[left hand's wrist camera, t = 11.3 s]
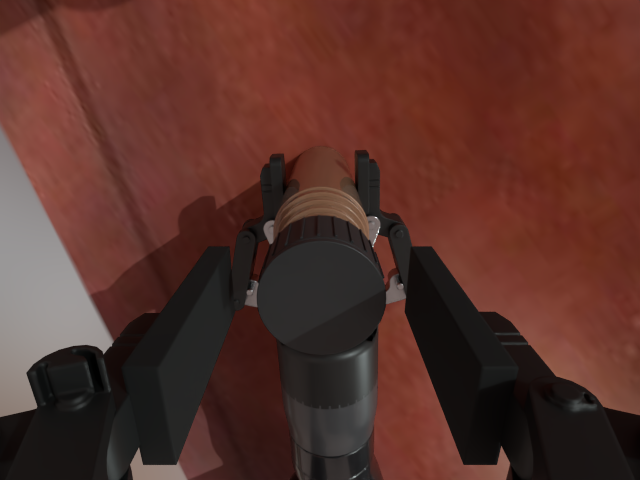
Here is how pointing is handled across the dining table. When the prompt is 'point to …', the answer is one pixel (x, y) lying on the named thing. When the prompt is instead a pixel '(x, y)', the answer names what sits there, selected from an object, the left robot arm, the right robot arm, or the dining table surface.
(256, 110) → the dining table surface
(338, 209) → the bottle
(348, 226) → the cap
